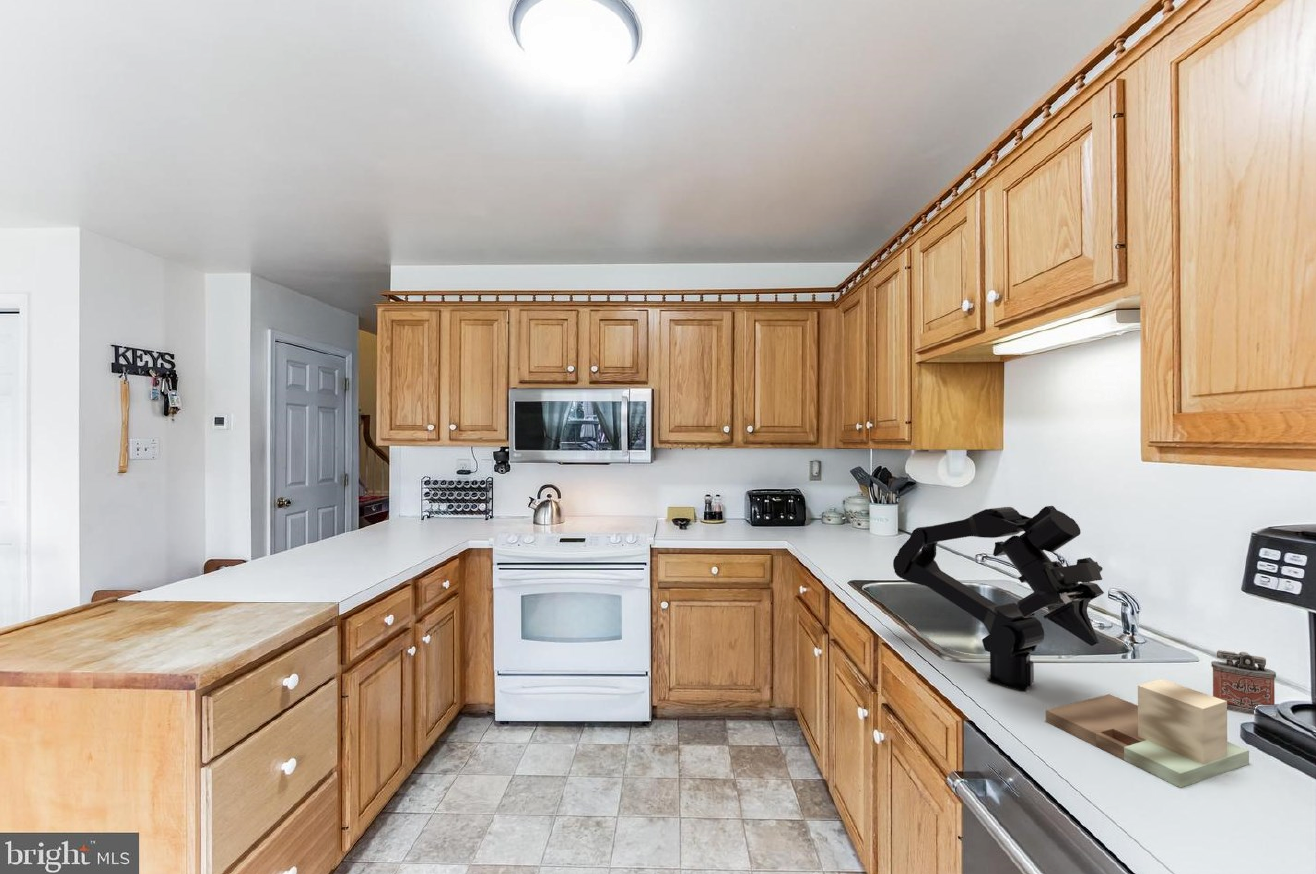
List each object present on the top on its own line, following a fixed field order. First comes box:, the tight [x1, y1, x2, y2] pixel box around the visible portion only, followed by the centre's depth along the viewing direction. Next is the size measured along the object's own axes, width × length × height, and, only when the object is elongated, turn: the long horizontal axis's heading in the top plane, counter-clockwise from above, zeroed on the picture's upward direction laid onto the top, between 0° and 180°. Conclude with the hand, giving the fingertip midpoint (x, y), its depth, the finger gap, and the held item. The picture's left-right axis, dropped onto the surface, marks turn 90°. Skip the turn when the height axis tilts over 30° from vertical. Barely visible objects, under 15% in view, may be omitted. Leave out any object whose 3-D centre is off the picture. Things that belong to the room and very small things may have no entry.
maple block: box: [1137, 678, 1228, 765], centre depth 84 cm, size 8×6×8 cm
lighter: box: [1210, 649, 1277, 715], centre depth 99 cm, size 8×3×10 cm, turn 59°
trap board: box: [1045, 693, 1250, 788], centre depth 89 cm, size 19×16×2 cm
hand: (1095, 644), depth 97 cm, fingers closed
